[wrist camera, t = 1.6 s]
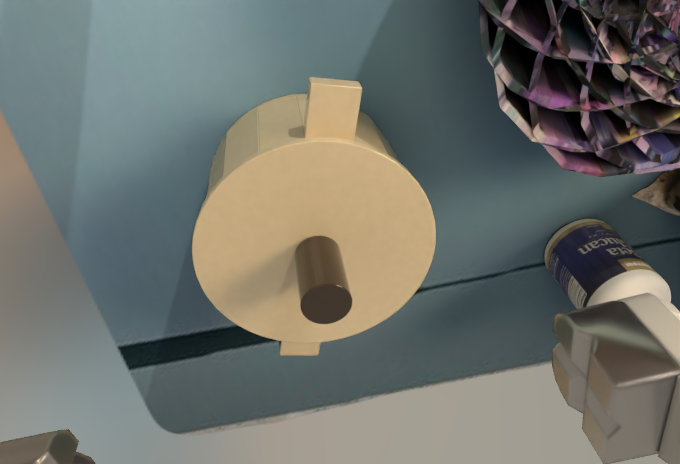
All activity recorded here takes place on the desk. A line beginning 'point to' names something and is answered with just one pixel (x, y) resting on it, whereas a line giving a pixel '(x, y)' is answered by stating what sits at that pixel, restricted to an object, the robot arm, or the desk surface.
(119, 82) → the desk surface
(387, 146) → the pot
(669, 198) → the radio
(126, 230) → the desk surface
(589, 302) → the pill bottle
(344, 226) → the pot lid
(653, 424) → the robot arm
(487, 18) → the decorative bowl
